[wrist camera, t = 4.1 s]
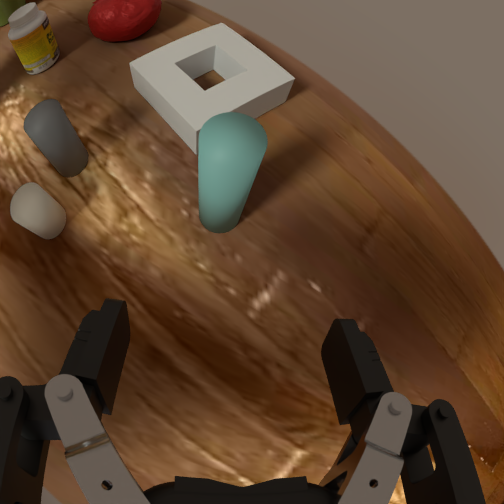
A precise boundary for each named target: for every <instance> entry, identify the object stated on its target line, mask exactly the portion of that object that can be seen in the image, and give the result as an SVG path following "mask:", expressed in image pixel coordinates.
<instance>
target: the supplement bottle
mask: <svg viewBox="0 0 504 504" xmlns="http://www.w3.org/2000/svg"><path fill="white" fill-rule="evenodd" d="M8 22H9V24H10V27H11V29H10V31H9V33H8V37H9V39H10V41H11V43H12V45H13V47H14V49H15V51H16V53H17V55H18V57H19V59H20V61H21V63H22V65H23V67H24V68H25V70H26V72H27V73H29V74H38V73H40V72H43V71H44V70H46V69H48V68H49V67H50V66H51V65H53V64H54V63H55V61H56V60H57V58H58V57H59V53H60V51H59V47H58V45H57V42H56V40H55V37H54V34H53V32H52V29H51V26H50V23H49V20H48V17H47V15H46V13H45V12H44V11H38V8H37V5H36V3H35V2H32V3H28V4H26V5H24V6H22V7H20V8H19V9H17V10H16V11H15V12H14V13H13V14H12V15H11V16H10V17H9V19H8Z"/></svg>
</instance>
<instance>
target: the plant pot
mask: <svg viewBox="0 0 504 504" xmlns="http://www.w3.org/2000/svg"><path fill="white" fill-rule="evenodd" d="M24 5H26V3H25V0H0V27H1V26H4V25H5V24H7V23H9V22H8V19H9V17H10V16H11V15H12V14H13V13H14V12H15V11H16V10H17V9H19V8H20V7H22V6H24Z"/></svg>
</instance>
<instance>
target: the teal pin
mask: <svg viewBox="0 0 504 504" xmlns="http://www.w3.org/2000/svg"><path fill="white" fill-rule="evenodd" d="M266 148H267V135H266V132H265V130H264V129H263V127H262V126H261V125H260V124H259V123H258V122H257V121H256V120H255V119H253V118H252V117H250V116H248V115H245V114H242V113H237V112H226V113H221V114H218V115H215V116H213V117H211V118H210V119H209V120H207V121H206V122H205V123H204V125H203V126H202V128H201V130H200V133H199V157H198V168H199V218H200V221H201V223H202V224H203V226H204V227H205V228H206V229H208V230H209V231H211V232H214V233H225V232H228V231H230V230H232V229H233V228H234V227H235V226H236V225H237V223H238V221H239V219H240V216H241V213H242V211H243V208H244V205H245V203H246V200H247V197H248V195H249V192H250V190H251V187H252V184H253V182H254V179H255V177H256V174H257V171H258V169H259V166H260V164H261V161H262V159H263V156H264V154H265V151H266Z"/></svg>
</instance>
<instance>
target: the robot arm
mask: <svg viewBox="0 0 504 504" xmlns="http://www.w3.org/2000/svg"><path fill="white" fill-rule="evenodd" d="M129 341H130V325H129V318H128V311H127V304H126V301H122V300H116V299H109V298H106V299H105V301H104V303H103V305H102V307H101V310H100V311H97V310H92V311H91V312H89V313H88V314H87V315H86V316H85V317H84V318H83V320H82V322H81V324H80V326H79V329H78V331H77V333H76V335H75V339H74V340H73V342H72V345H71V347H70V349H69V352H68V354H67V357H66V359H65V362H64V364H63V367H62V369H61V371H60V373H59V375H57V376H55V377H53V378H52V379H51V380H50V381H49V382H48V383H47V384H45V385H35V386H22V385H21V383H20V382H19V381H18V380H17V379H16V378H14V377H10V376H5V377H2V378H0V504H41V493H42V487H43V479H44V473H45V466H46V460H47V455H48V449H49V444H50V440H62V443H63V445H64V448H65V457H66V460H67V462H68V464H69V466H70V469H71V471H72V473H73V475H74V477H75V479H76V480H77V482H78V484H79V486H80V488H81V490H82V492H83V493H84V495H85V497H86V499H87V501H88V502H89V504H388V503H389V501H390V498H391V496H392V493H393V491H394V488H395V486H396V483H397V481H398V478H399V475H401V480H402V484H403V489H404V493H405V498H406V503H407V504H486V503H485V499H484V495H483V492H482V488H481V485H480V481H479V478H478V474H477V471H476V468H475V465H474V462H473V459H472V456H471V453H470V450H469V447H468V444H467V441H466V439H465V436H464V433H463V430H462V428H461V425H460V423H459V420H458V417H457V415H456V412H455V410H454V408H453V407H452V405H451V404H450V403H449V402H447V401H445V400H442V399H437V400H434V401H433V402H432V403H431V404H430V405H429V406H428V407H426V406H419V405H413V404H410V402H409V400H408V399H407V398H406V397H405V396H403V395H402V394H400V393H397V392H394V391H393V388H392V386H391V384H390V381H389V379H388V376H387V374H386V371H385V369H384V367H383V364H382V362H381V361H380V357H379V355H378V353H377V350H376V348H375V346H374V343H373V341H372V340H371V339H370V338H369V337H368V336H367V334H366V333H365V332H360V330H359V328H358V326H357V323H356V321H355V320H354V319H335V320H334V321H333V323H332V325H331V327H330V330H329V332H328V334H327V336H326V338H325V340H324V342H323V345H322V350H321V356H322V360H323V364H324V368H325V371H326V375H327V379H328V382H329V386H330V390H331V393H332V397H333V401H334V405H335V408H336V412H337V416H338V420H339V424H340V425H344V424H350V426H351V430H352V431H351V432H350V434H349V436H348V438H347V440H346V442H345V444H344V446H343V447H342V449H341V451H340V453H339V455H338V457H337V459H336V461H335V462H334V464H333V466H332V468H331V469H330V471H329V472H328V473H327V474H326V475H325V476H324V478H323V479H322V480H321V482H320V483H319V485H316V484H312V483H308V482H307V479H306V476H303V477H292V478H279V479H273V480H269V481H266V482H262V483H258V484H254V485H250V486H246V487H239V486H235V485H231V484H226V483H222V482H219V481H215V480H211V479H205V478H191V477H180V476H175V482H167V483H163V484H159V485H156V486H153V487H151V488H149V489H147V490H146V491H144V492H143V490H142V489H141V487H140V486H139V484H138V483H137V482H136V480H135V479H134V477H133V476H132V474H131V472H130V471H129V469H128V468H127V466H126V465H125V463H124V462H123V460H122V458H121V457H120V455H119V453H118V452H117V450H116V448H115V447H114V445H113V443H112V441H111V440H110V438H109V436H108V434H107V432H106V430H105V429H104V427H103V425H102V423H101V417H102V413H104V414H108V415H111V413H112V409H113V404H114V400H115V396H116V392H117V388H118V383H119V379H120V376H121V372H122V368H123V364H124V360H125V357H126V353H127V349H128V346H129ZM429 444H430V447H431V450H432V453H433V457H434V460H435V464H436V468H435V471H434V468H433V465H432V461H431V458H430V454H429V451H428V448H427V445H429Z"/></svg>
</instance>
